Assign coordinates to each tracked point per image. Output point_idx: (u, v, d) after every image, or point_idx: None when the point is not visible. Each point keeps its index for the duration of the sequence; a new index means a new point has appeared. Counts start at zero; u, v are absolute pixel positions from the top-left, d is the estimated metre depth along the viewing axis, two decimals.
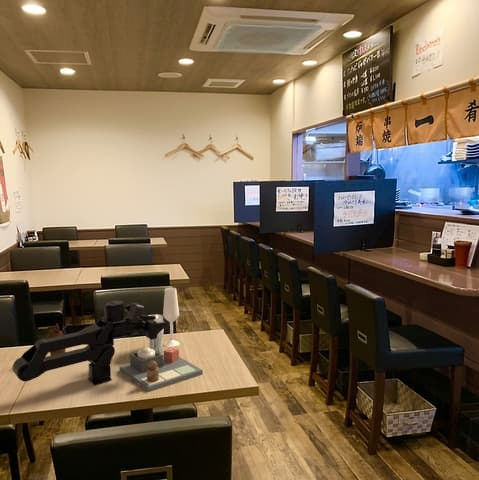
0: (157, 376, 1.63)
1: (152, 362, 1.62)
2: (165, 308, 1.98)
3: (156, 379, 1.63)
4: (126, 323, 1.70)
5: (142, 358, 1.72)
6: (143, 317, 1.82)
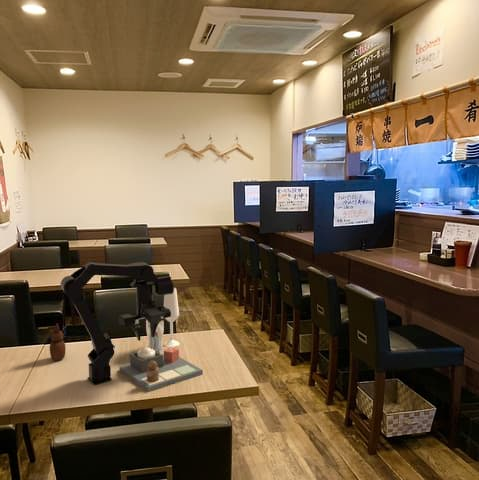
0: (157, 376, 1.63)
1: (152, 362, 1.62)
2: None
3: (156, 379, 1.63)
4: (143, 300, 1.69)
5: (142, 358, 1.72)
6: (153, 324, 1.75)
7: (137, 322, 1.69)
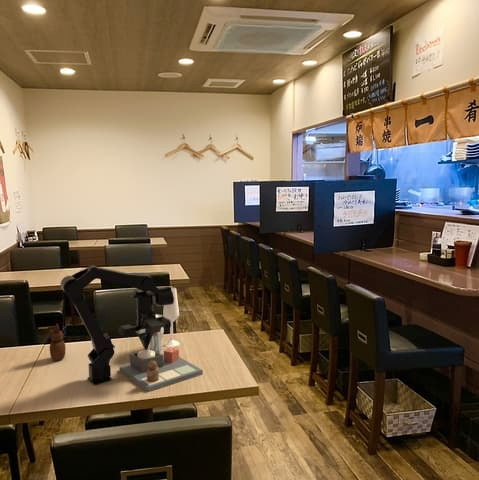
0: (157, 376, 1.63)
1: (152, 362, 1.62)
2: (165, 308, 1.98)
3: (156, 379, 1.63)
4: (143, 311, 1.70)
5: (142, 359, 1.72)
6: (148, 336, 1.74)
7: (144, 331, 1.71)
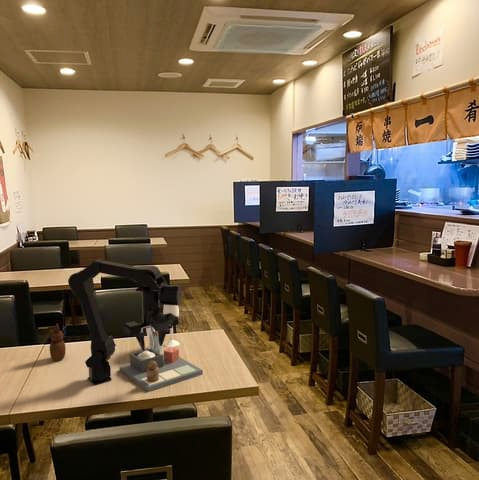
0: (157, 376, 1.63)
1: (151, 362, 1.62)
2: (165, 308, 1.98)
3: (156, 379, 1.63)
4: (149, 307, 1.57)
5: None
6: (162, 332, 1.63)
7: (141, 331, 1.57)
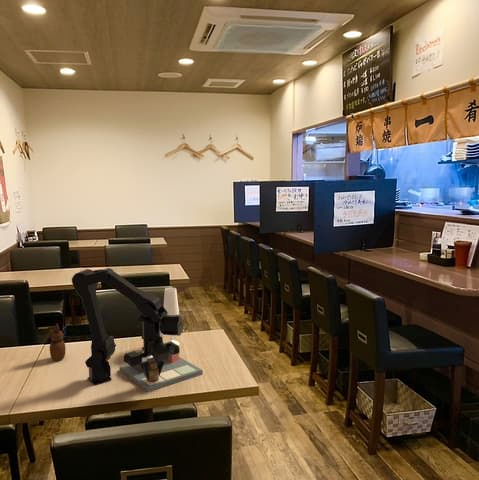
0: (157, 376, 1.63)
1: (152, 362, 1.62)
2: (165, 308, 1.98)
3: (156, 379, 1.63)
4: (150, 337, 1.59)
5: None
6: (160, 362, 1.64)
7: (145, 360, 1.59)
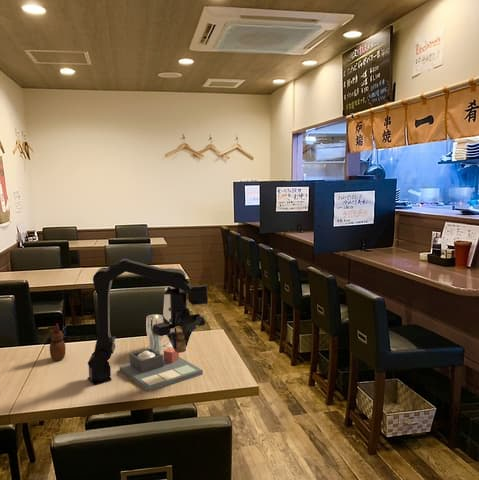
0: (184, 347, 1.68)
1: (179, 333, 1.68)
2: (165, 308, 1.98)
3: (183, 350, 1.68)
4: (178, 309, 1.64)
5: None
6: (186, 333, 1.69)
7: (173, 331, 1.64)
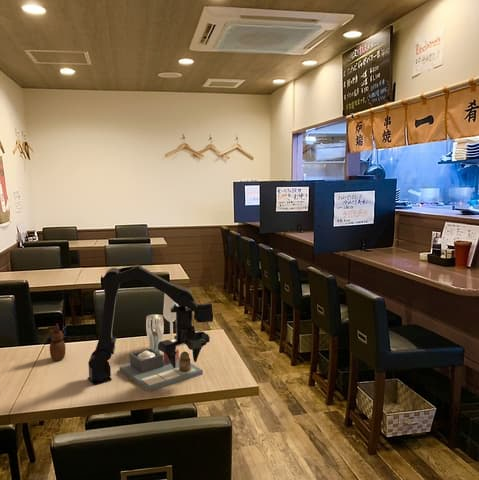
0: (189, 366, 1.71)
1: (184, 353, 1.70)
2: (165, 308, 1.98)
3: (188, 369, 1.71)
4: (183, 326, 1.67)
5: None
6: (196, 349, 1.73)
7: None
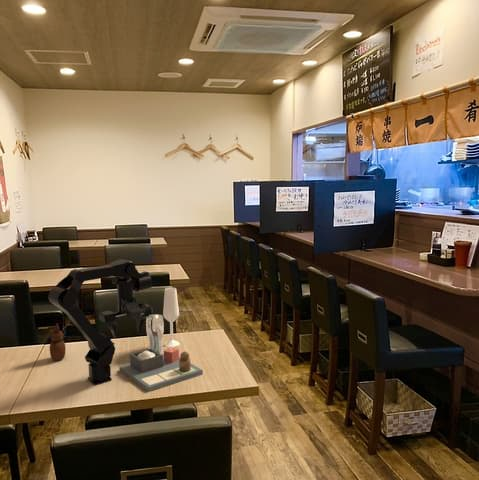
0: (189, 366, 1.71)
1: (184, 353, 1.70)
2: (165, 308, 1.98)
3: (188, 369, 1.71)
4: (124, 297, 1.70)
5: None
6: (139, 320, 1.76)
7: None
